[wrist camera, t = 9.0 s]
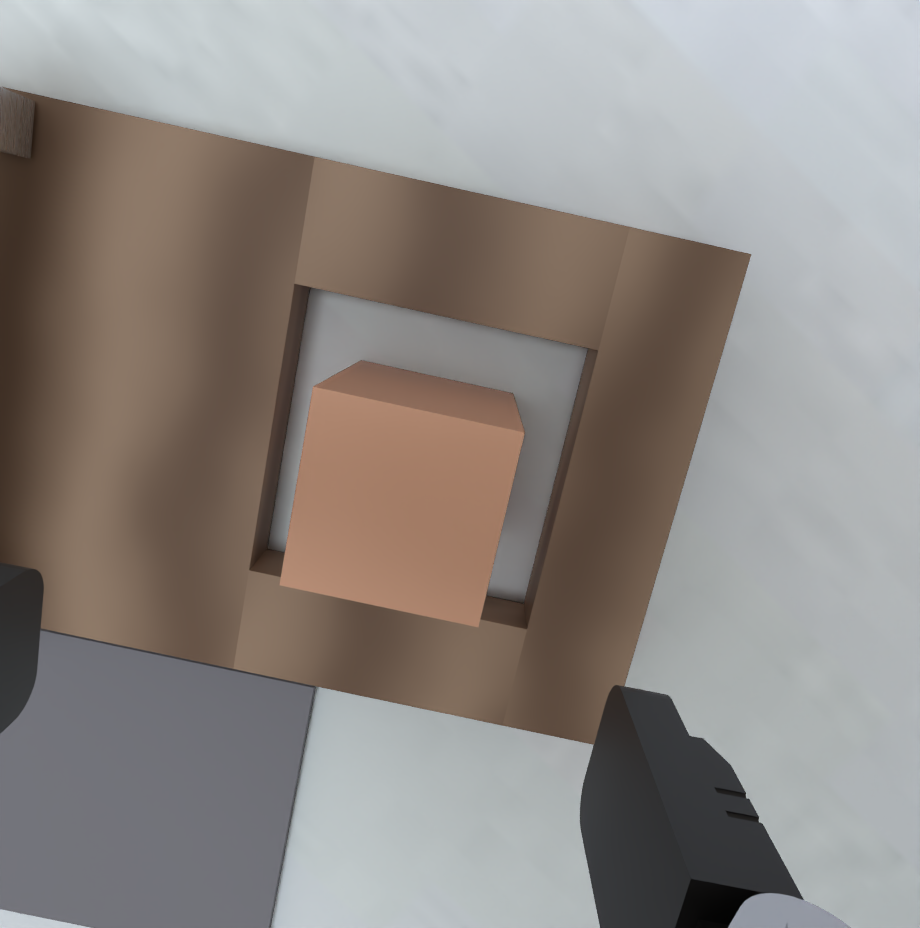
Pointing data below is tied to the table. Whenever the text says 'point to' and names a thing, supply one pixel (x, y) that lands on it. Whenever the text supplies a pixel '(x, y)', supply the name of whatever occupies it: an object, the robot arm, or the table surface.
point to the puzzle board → (270, 392)
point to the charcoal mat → (148, 789)
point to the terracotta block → (402, 491)
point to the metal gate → (16, 123)
